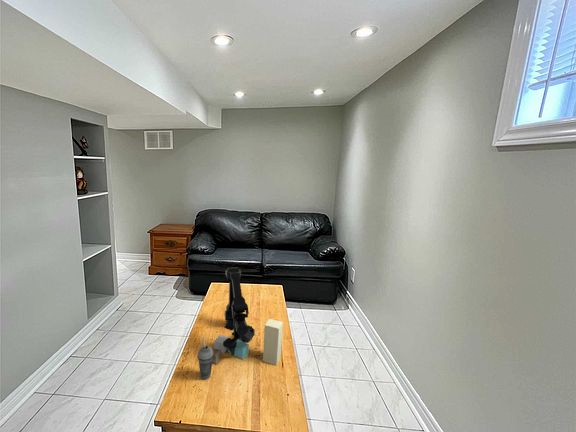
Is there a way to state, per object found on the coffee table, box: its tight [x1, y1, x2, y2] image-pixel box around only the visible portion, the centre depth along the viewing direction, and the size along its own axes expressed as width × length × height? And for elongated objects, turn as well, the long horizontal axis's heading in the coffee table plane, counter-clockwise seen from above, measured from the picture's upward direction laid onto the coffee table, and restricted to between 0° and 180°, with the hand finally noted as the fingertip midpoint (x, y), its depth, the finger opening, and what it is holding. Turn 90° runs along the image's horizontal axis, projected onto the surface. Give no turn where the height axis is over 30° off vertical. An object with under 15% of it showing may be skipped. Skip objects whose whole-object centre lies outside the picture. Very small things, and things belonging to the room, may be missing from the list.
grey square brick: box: [213, 334, 230, 354], centre depth 147 cm, size 6×6×6 cm
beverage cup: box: [197, 337, 213, 381], centre depth 126 cm, size 7×7×20 cm
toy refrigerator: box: [262, 318, 284, 366], centre depth 140 cm, size 8×7×21 cm
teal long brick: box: [227, 340, 250, 360], centre depth 144 cm, size 10×5×6 cm, turn 62°
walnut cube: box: [211, 347, 222, 366], centre depth 138 cm, size 5×5×5 cm
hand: (238, 350), depth 145 cm, fingers open, 9 cm apart
